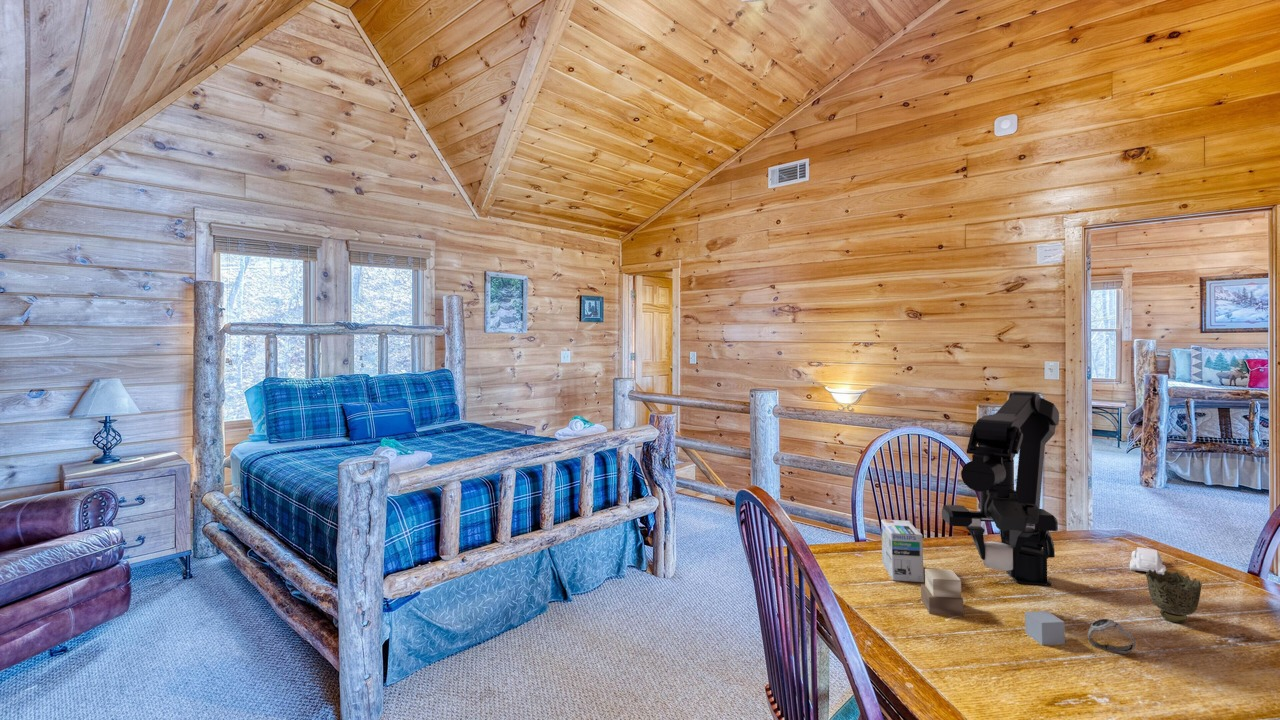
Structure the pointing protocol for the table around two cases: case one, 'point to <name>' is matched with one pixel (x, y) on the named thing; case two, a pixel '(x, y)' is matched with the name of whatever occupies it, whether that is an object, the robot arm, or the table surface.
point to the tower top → (943, 583)
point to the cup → (1174, 594)
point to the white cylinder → (998, 556)
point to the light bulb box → (902, 550)
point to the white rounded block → (1146, 561)
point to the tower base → (941, 603)
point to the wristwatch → (1101, 626)
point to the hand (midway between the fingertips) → (997, 560)
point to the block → (1045, 628)
